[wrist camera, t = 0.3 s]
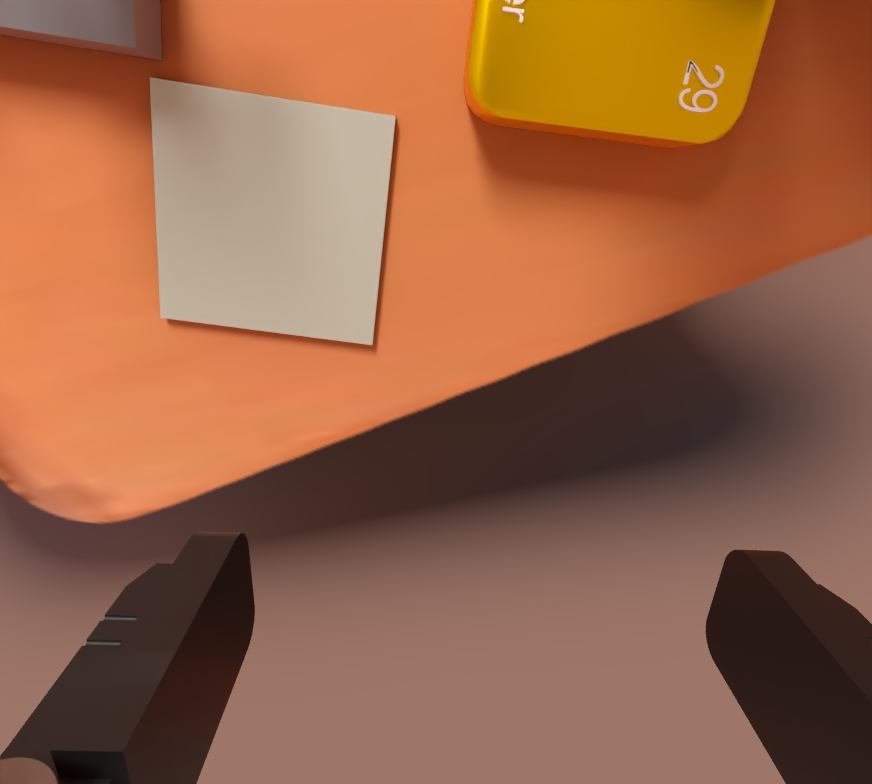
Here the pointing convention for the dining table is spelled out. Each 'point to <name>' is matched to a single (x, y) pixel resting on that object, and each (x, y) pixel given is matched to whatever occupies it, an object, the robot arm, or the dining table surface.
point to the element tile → (615, 66)
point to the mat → (269, 211)
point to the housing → (88, 24)
